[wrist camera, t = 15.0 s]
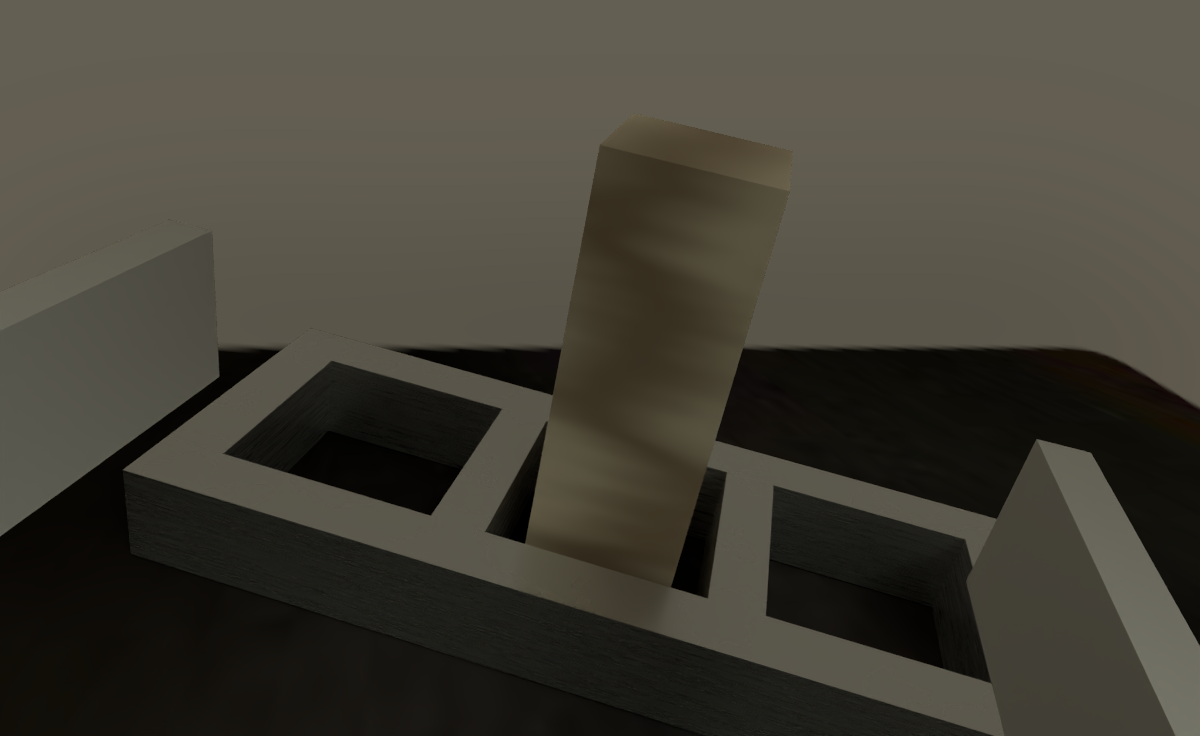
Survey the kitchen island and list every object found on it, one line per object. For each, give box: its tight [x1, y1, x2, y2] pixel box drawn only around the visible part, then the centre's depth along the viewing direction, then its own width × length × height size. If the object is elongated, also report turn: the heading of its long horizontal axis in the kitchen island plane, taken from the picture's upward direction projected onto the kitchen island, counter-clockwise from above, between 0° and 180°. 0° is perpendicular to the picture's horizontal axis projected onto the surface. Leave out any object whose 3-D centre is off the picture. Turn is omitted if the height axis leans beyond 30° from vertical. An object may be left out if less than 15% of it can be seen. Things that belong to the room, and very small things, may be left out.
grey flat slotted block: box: [123, 328, 1005, 736], centre depth 27 cm, size 26×10×3 cm, turn 78°
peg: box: [525, 113, 792, 587], centre depth 24 cm, size 4×4×14 cm
